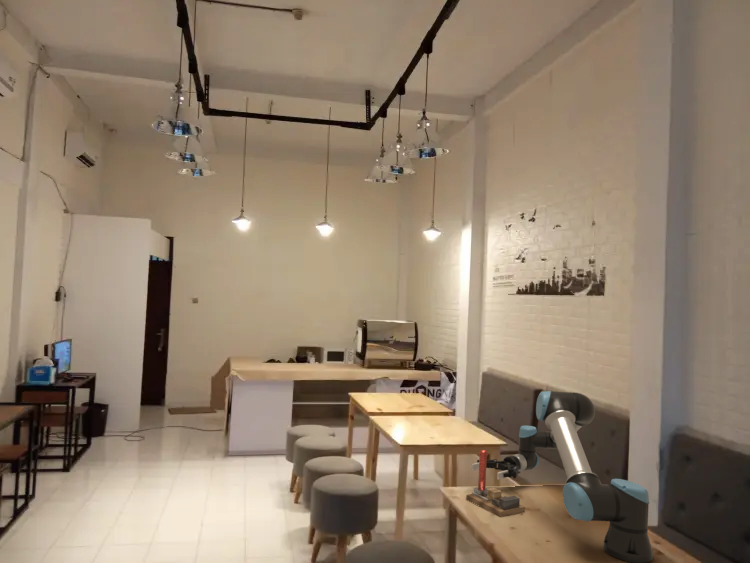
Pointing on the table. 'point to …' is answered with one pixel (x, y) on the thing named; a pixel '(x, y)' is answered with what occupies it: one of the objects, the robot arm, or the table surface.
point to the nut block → (493, 494)
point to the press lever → (482, 474)
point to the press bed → (498, 504)
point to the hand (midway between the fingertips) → (484, 471)
